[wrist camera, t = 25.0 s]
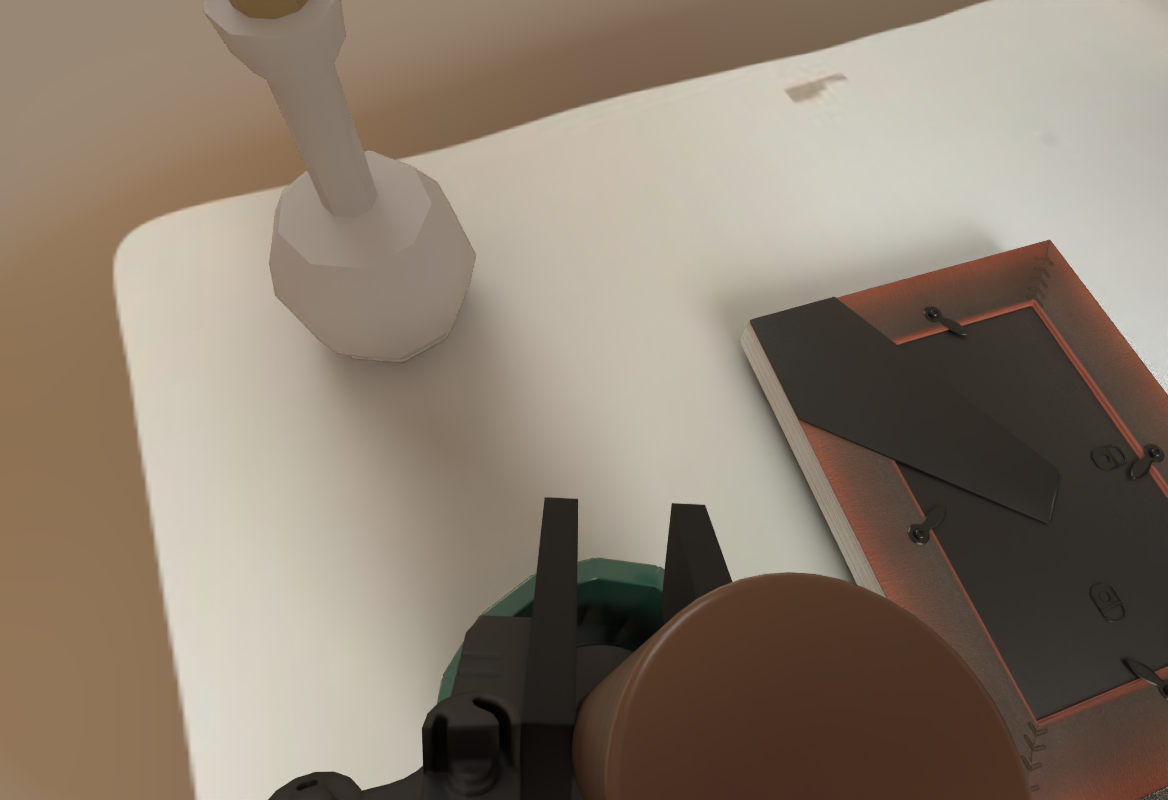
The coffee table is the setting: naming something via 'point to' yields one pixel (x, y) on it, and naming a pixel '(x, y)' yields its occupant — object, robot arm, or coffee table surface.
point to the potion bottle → (347, 198)
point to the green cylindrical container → (593, 606)
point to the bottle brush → (789, 704)
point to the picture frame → (999, 494)
